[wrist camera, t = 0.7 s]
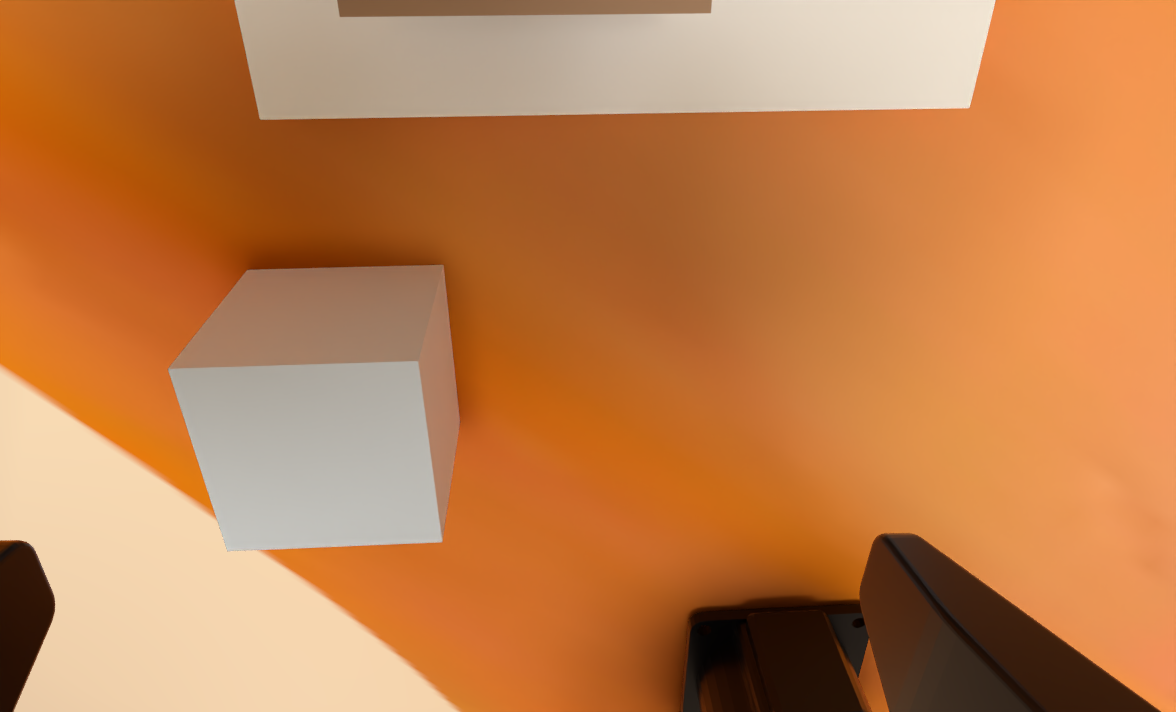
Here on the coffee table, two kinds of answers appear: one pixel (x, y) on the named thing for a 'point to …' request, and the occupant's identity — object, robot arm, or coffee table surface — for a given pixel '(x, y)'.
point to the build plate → (614, 59)
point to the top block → (325, 407)
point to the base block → (517, 7)
